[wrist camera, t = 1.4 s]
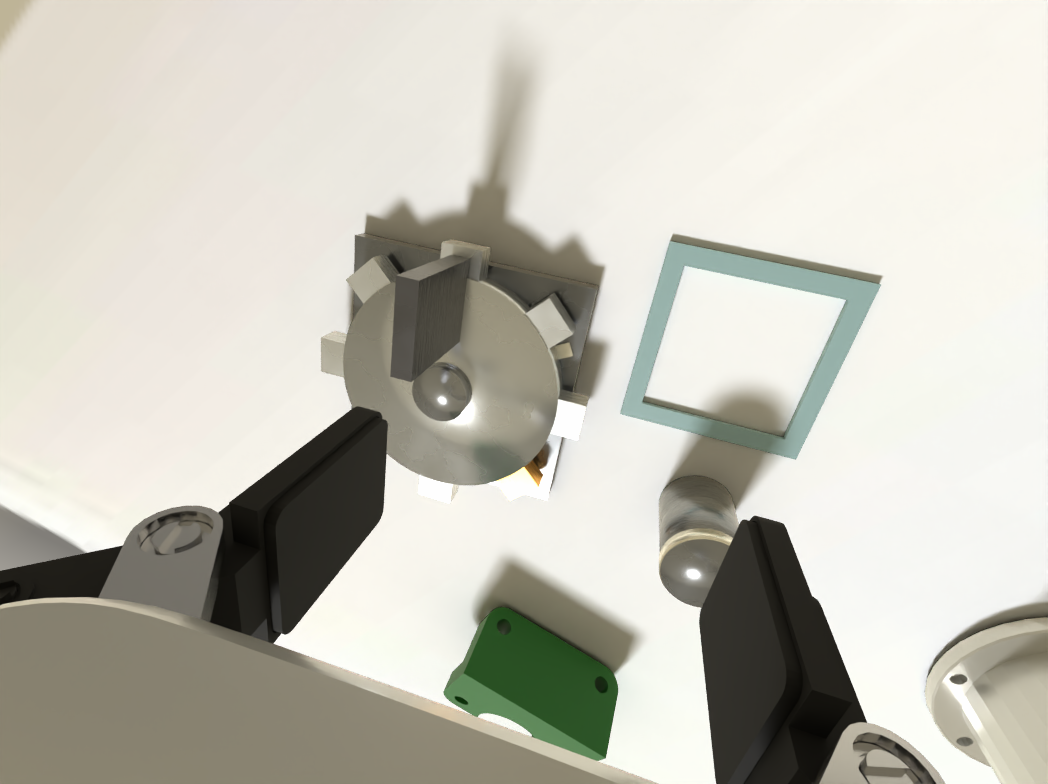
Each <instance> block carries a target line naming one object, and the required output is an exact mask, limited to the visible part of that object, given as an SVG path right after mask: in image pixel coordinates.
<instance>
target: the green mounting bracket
mask: <svg viewBox="0 0 1048 784" xmlns="http://www.w3.org/2000/svg"><path fill="white" fill-rule="evenodd" d="M498 630H499V631H500V632H499V631H498ZM444 695H445V697H446V698H447V699H448V700H449V701H451V702H452V703H453V704H455V705H457V706H458V707H460V708H462V709H463V710H465V711H467V712H468V713H470V714H472V715H473V716H475V717H478V715H479V714H482V713H490V714H495V715H499V716H502V717H505V718H507V719H509V720H512V721H514V722H515V723H517V724H519V725H521V726H522V727H524V728H525V729H526V730H528V731H529V732H530V733H531V734H532V737H533V738H536V739H539V740H541V741H544V742H547V743H550V744H552V745H555V746H558V747H560V748H563V749H566V750H568V751H571V752H574V753H577V754H579V755H582V756H585V757H587V758H590V759H593V760H596V761H599V760H602V759H605V758H606V754H607V749H608V743H609V738H610V732H611V727H612V722H613V716H614V711H615V706H616V700H617V695H618V685H617V681H616V678H615V676H614V674H613V673H612V672H611V670H610V669H609V668H607V667H606V666H604V665H603V664H601V663H599V662H598V661H596V660H594V659H593V658H591V657H589V656H588V655H586V654H584V653H583V652H581V651H579V650H578V649H576V648H574V647H573V646H571V645H569V644H567V643H566V642H564V641H562V640H561V639H559V638H557V637H556V636H554V635H552V634H551V633H549V632H547V631H546V630H544V629H542V628H541V627H539V626H537V625H536V624H534V623H532V622H531V621H529V620H527V619H526V618H524V617H522V616H521V615H519V614H517V613H516V612H514V611H512V610H510V609H508V608H505V607H499V608H496V609H494V610H493V611H491V613H490V614H489V615H488V616H487V617H486V618H485V619H484V620H483V621H482V622H481V623H480V625H479V627H478V629H477V631H476V634H475V636H474V638H473V640H472V643H471V645H470V647H469V649H468V652H467V654H466V656H465V658H464V661H463V662H462V663H461V664H460V665H459V666H458V667H457V668H456V669H455V670H454V671H453V672H452V674H451V676H450V679H449V681H448V683H447V685H446V688H445V690H444Z"/></svg>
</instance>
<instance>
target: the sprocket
mask: <svg viewBox="0 0 1048 784" xmlns="http://www.w3.org/2000/svg"><path fill="white" fill-rule="evenodd" d="M490 250H491V248H490V247H485V246H481V245H476V244H471V243H467V242H462V241H458V240H453V239H451V240H447V241H444V242H442V245H441V255H440V259H438V260H436V261H433V262H430V263H428V264H425V265H422V266H420V267H417V268H414V269H411V270H409V271H406V272H403V273H401V274H399V272H398V271H397V269H396V268H395V267H394V265H393V264H392V262H391V261H390V260H389V258H388V257H387V255H386V254H384V255H380V256H376V257H373V258H372V259H370V260H369V261H368V262H367V263H366V264H364V265H363V266H362V267H361V268H360V269H358V270H357V271H356V272H355V273H354V274H352V275H351V276H350V277H349V278H348V279H346V281H347V282H348V283H349V285H350V286H351V287H352V289H353V290H354V292H355V293H356V294H357V296H358V297H359V298H360V300H361V301H362V302H363V306H362V307H361V308H360V310H359V311H358V312H357V314H356V316H355V318H354V319H353V321H352V323H351V325H350V328H349V331H348V333H347V334H345V333H341V332H337V331H334V332H332V333H329V334H327V335H325V336H323V337H321V371H322V372H326V373H329V374H333V375H337V376H340V377H344V379H345V385H346V389H347V393H348V396H349V399H350V402H351V404H352V407H353V408H354V407H356V406H360V407H364V408H367V409H371V410H374V411H378V412H380V413H381V414H382V419H384V420H386V421H387V423H388V433H387V452H386V453H387V454H388V455H389V456H390V457H392V458H393V459H394V460H396V461H397V462H398V463H400V464H401V465H403V466H404V467H406V468H408V469H409V470H411V471H413V472H415V473H417V474H419V475H420V479H419V489H418V494H420V495H423V496H427V497H430V498H433V499H437V500H440V501H443V502H447V503H450V502H451V501H452V499H453V498H454V496H455V495H456V493H457V491H458V485H480V484H487V483H491V482H495V481H496V483H497V484H498V485H499V487H500V488H501V489H502V491H503V492H504V493H505V495H506V496H507V498H508V499H509V500H512V499H515V498H517V497H519V496H521V495H523V494H525V493H528V492H530V491H532V490H534V489H536V488H538V487H539V485H540V482H541V480H542V477H543V474H542V472H541V471H540V469H539V468H538V467H537V465H536V464H535V462H534V461H533V460H532V459H533V458H534V457H535V456H536V455H537V454H538V453H539V452H540V450H541V449H542V447H543V446H544V444H545V443H546V441H547V439H548V437H549V435H550V433H551V434H554V435H558V436H562V437H565V438H569V439H573V440H576V441H578V438H579V434H580V431H581V427H582V423H583V419H584V415H585V412H586V408H587V404H588V400H589V396H586V395H582V394H578V393H574V392H571V391H567V390H563V389H562V373H561V365H560V361H559V358H558V354H557V350H556V348H555V346H554V345H556V344H557V343H559V342H561V341H563V340H564V339H566V338H568V337H569V336H571V335H573V333H574V331H575V329H576V325H575V324H574V322H573V321H572V319H571V317H570V316H569V314H568V313H567V311H566V310H565V308H564V307H563V305H562V304H561V302H560V300H559V299H558V297H557V296H556V294H555V293H553V294H551V295H550V296H548V297H547V298H545V299H544V300H542V301H541V302H539V303H537V304H536V305H534V306H533V307H531V308H530V307H529V306H528V305H527V304H526V303H525V302H524V301H523V300H522V299H521V298H520V297H519V296H517V295H516V294H515V293H514V292H512V291H511V290H510V289H508V288H506V287H505V286H503V285H501V284H500V283H498V282H496V281H494V280H492V279H490V278H487V272H488V265H489V258H490Z"/></svg>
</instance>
